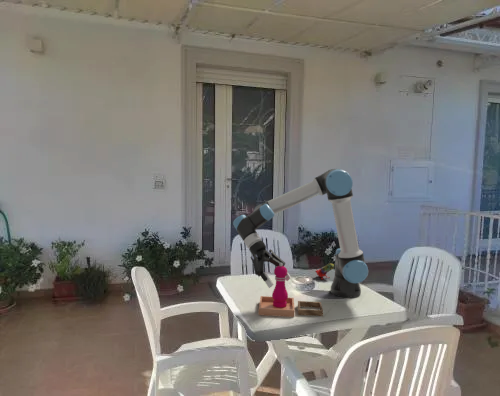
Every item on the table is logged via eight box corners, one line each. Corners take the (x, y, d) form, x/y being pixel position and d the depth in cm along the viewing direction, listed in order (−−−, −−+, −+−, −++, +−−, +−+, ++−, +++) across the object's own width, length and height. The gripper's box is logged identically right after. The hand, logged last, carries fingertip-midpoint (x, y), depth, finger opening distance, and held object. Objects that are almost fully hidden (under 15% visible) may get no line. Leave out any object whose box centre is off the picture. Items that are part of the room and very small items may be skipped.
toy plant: (326, 286, 228) (338, 274, 221) (311, 279, 226) (323, 267, 219) (325, 275, 234) (337, 263, 228) (311, 269, 232) (322, 257, 226)
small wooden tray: (320, 307, 183) (320, 302, 183) (322, 316, 172) (323, 310, 172) (297, 306, 184) (297, 300, 183) (298, 315, 173) (298, 309, 173)
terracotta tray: (293, 303, 186) (293, 297, 186) (294, 317, 171) (294, 310, 171) (260, 302, 188) (260, 296, 187) (258, 315, 172) (258, 308, 172)
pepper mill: (278, 301, 186) (279, 259, 185) (290, 305, 182) (292, 262, 180) (268, 305, 181) (269, 262, 179) (281, 309, 176) (282, 265, 174)
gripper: (242, 243, 174) (268, 284, 165) (275, 236, 193) (300, 272, 185) (233, 253, 177) (258, 294, 169) (266, 245, 197) (290, 281, 188)
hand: (280, 282), depth 177 cm, fingers open, 13 cm apart
